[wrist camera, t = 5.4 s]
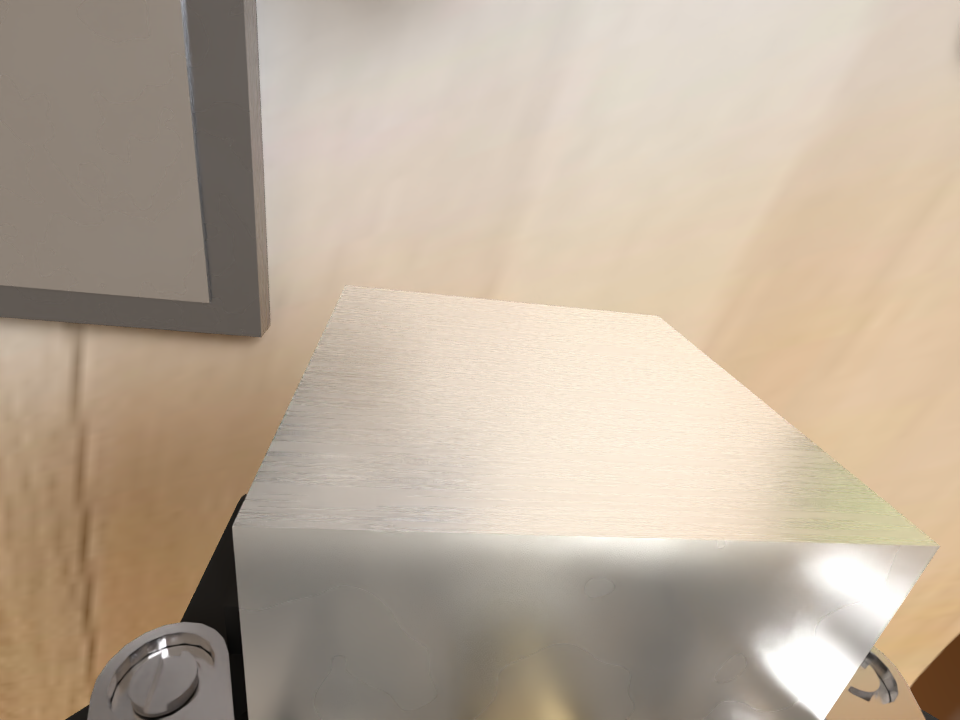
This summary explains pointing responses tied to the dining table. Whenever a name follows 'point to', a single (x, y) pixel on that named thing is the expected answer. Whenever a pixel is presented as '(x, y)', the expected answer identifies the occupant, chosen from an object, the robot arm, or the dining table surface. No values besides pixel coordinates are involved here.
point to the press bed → (133, 165)
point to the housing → (550, 529)
